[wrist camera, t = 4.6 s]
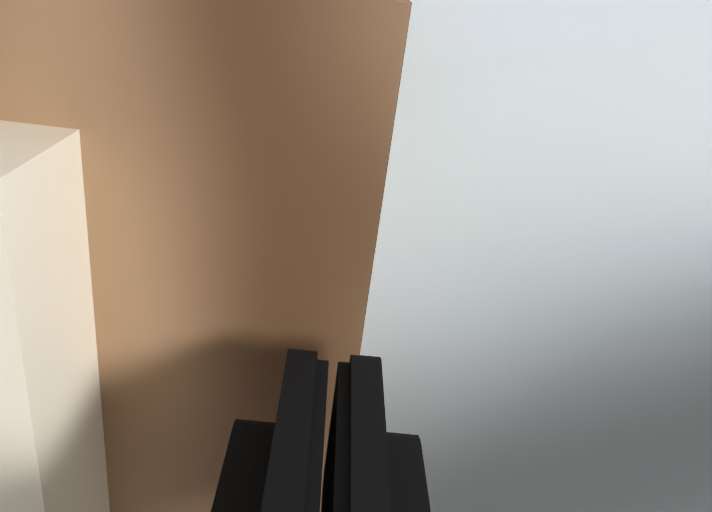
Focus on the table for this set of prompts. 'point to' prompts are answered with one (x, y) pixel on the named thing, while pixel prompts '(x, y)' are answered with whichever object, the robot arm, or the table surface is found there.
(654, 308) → the table surface
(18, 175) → the cream rectangular block
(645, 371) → the table surface
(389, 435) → the robot arm
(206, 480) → the brown flat block
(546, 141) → the table surface
